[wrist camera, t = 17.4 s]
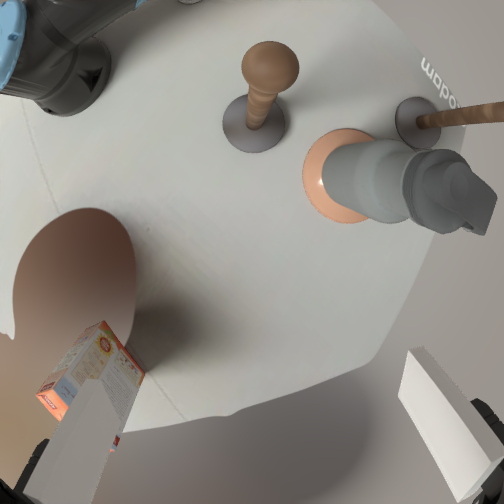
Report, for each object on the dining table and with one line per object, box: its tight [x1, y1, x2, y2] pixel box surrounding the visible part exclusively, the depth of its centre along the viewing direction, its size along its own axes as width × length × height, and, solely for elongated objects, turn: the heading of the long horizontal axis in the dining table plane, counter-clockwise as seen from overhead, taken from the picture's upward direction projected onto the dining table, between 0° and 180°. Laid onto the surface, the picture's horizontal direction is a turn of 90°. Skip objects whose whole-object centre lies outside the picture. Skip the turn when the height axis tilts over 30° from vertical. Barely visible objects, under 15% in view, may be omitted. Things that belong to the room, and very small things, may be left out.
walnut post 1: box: [223, 41, 299, 153], centre depth 28 cm, size 9×9×29 cm
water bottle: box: [321, 139, 497, 235], centre depth 31 cm, size 10×10×28 cm
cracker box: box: [36, 321, 145, 452], centre depth 42 cm, size 14×6×21 cm, turn 26°
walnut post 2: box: [395, 97, 504, 149], centre depth 28 cm, size 9×9×29 cm
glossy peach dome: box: [303, 129, 374, 223], centre depth 44 cm, size 15×15×1 cm
